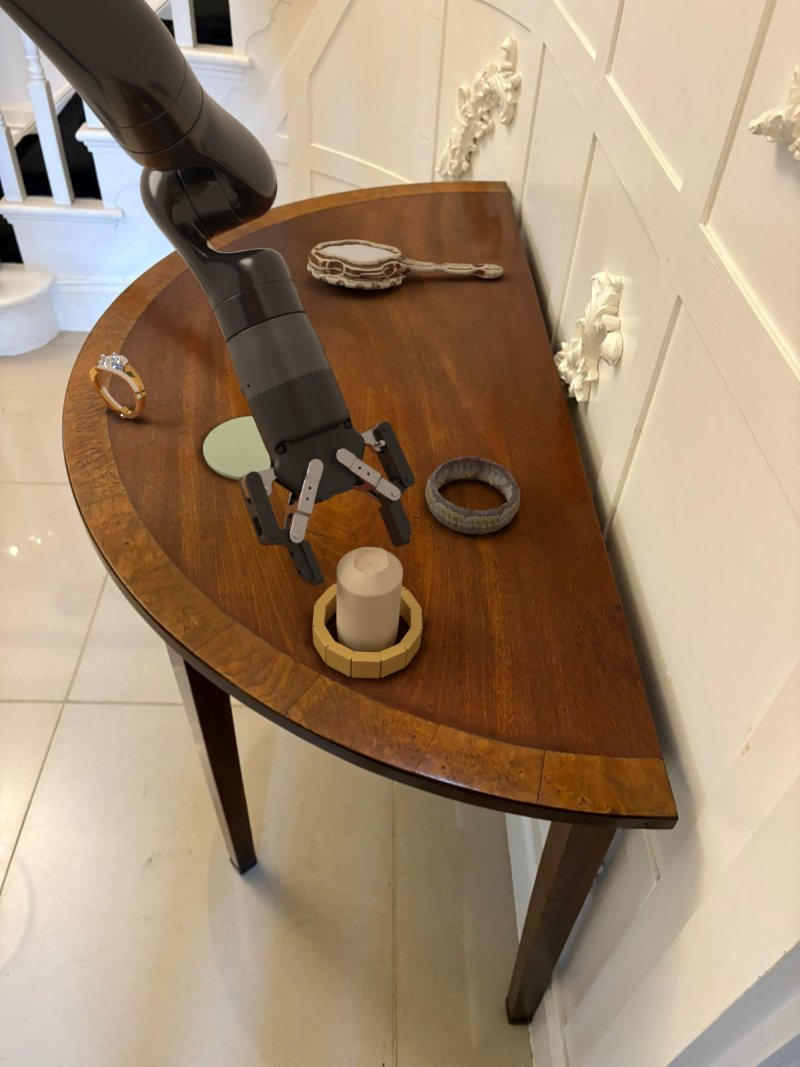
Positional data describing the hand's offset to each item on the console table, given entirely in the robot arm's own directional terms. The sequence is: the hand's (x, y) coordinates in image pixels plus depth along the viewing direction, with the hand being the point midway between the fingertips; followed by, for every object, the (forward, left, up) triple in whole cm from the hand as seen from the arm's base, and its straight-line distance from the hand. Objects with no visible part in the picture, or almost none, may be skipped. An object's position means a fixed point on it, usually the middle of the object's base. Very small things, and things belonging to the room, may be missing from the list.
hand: (361, 563), depth 66 cm
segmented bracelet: (0, -1, -8) cm, 8 cm away
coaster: (+1, +28, -8) cm, 29 cm away
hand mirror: (+37, +55, -8) cm, 67 cm away
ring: (-10, +40, -8) cm, 42 cm away
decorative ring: (+18, +9, -8) cm, 22 cm away
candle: (0, -1, -8) cm, 8 cm away
